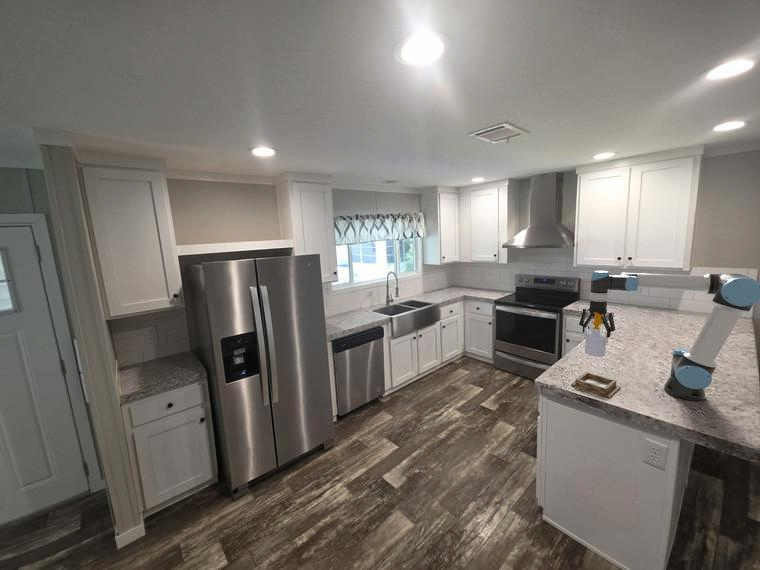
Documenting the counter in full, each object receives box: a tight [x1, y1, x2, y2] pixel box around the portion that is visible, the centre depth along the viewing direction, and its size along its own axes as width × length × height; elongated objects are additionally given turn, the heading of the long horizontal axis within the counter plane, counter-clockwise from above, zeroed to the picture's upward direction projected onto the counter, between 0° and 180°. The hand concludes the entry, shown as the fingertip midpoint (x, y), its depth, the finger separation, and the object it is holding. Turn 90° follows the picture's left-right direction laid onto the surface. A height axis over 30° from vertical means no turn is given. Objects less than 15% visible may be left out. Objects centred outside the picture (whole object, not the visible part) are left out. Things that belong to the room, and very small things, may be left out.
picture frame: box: [570, 371, 621, 399], centre depth 171 cm, size 18×16×4 cm
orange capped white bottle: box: [584, 311, 607, 357], centre depth 169 cm, size 9×9×25 cm
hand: (595, 340), depth 170 cm, fingers closed on orange capped white bottle, 9 cm apart
